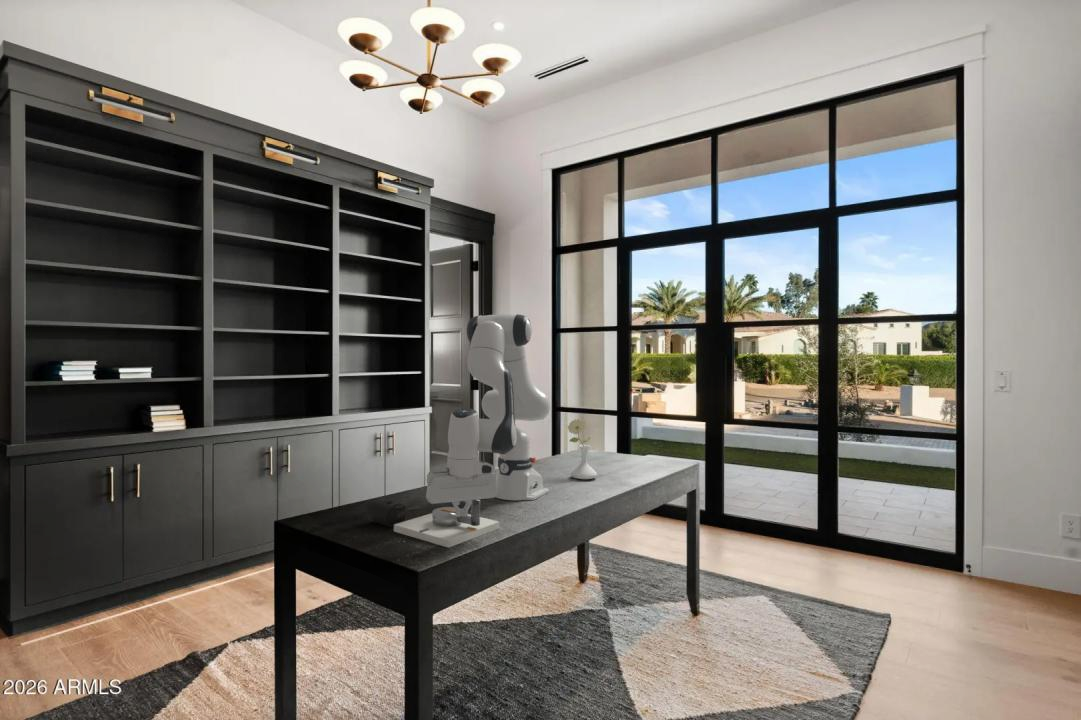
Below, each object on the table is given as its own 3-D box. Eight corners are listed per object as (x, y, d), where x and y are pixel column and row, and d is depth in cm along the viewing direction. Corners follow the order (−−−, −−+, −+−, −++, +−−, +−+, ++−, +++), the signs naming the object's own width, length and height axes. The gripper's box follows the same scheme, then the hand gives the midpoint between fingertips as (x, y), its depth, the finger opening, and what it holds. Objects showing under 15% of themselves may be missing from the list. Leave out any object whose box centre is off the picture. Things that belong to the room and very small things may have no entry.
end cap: (365, 524, 181) (366, 502, 181) (385, 519, 187) (385, 497, 186) (386, 531, 175) (387, 508, 175) (405, 525, 181) (406, 503, 180)
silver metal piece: (425, 522, 175) (426, 495, 175) (444, 515, 183) (445, 489, 183) (469, 531, 168) (470, 504, 167) (487, 523, 176) (488, 497, 175)
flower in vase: (597, 476, 255) (599, 418, 254) (596, 482, 244) (598, 421, 243) (567, 474, 257) (569, 416, 256) (564, 480, 246) (566, 420, 245)
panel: (446, 514, 192) (446, 507, 192) (499, 528, 180) (499, 520, 180) (393, 531, 174) (393, 523, 174) (448, 547, 162) (448, 538, 162)
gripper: (430, 471, 160) (429, 523, 160) (500, 466, 170) (498, 514, 170) (423, 467, 165) (422, 516, 166) (491, 462, 175) (490, 509, 175)
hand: (461, 515), depth 168 cm, fingers closed
